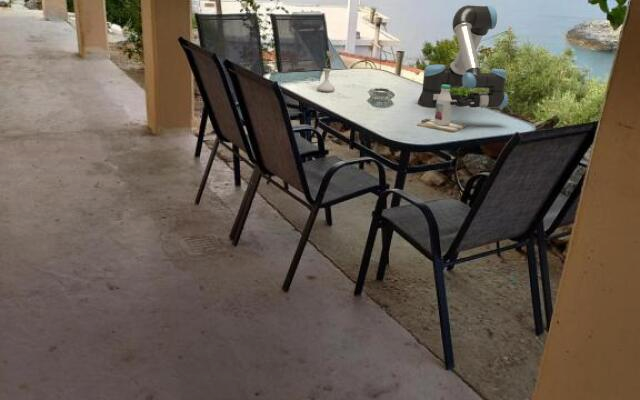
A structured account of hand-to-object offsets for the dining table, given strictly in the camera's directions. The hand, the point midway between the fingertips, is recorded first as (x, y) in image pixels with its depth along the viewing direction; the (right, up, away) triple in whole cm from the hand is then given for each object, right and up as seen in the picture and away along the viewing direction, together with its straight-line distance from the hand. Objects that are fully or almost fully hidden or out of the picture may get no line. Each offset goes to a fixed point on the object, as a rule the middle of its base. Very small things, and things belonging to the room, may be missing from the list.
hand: (438, 99), depth 298 cm
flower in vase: (-56, +19, +78) cm, 98 cm away
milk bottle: (+3, -12, +5) cm, 13 cm away
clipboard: (+3, -13, +6) cm, 14 cm away
